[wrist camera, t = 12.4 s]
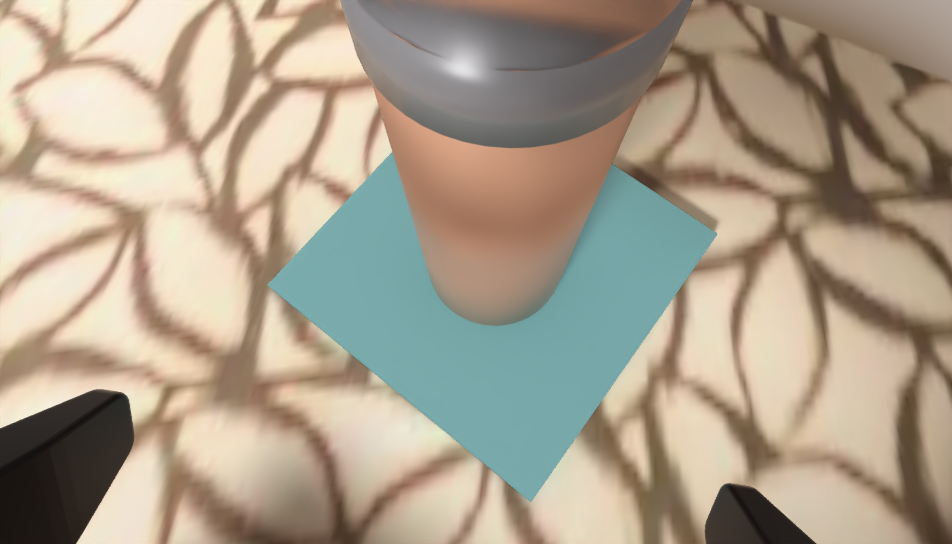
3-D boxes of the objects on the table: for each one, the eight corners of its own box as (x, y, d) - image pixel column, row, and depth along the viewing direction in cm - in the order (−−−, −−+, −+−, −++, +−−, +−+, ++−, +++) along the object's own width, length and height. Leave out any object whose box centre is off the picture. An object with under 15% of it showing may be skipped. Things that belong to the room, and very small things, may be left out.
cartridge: (591, 286, 20) (794, -26, 7) (465, 354, 20) (431, 146, 6) (520, 175, 22) (580, -258, 9) (401, 234, 21) (264, -139, 8)
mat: (711, 239, 22) (717, 233, 21) (529, 500, 19) (530, 502, 18) (469, 78, 24) (469, 69, 23) (272, 289, 21) (267, 285, 20)
